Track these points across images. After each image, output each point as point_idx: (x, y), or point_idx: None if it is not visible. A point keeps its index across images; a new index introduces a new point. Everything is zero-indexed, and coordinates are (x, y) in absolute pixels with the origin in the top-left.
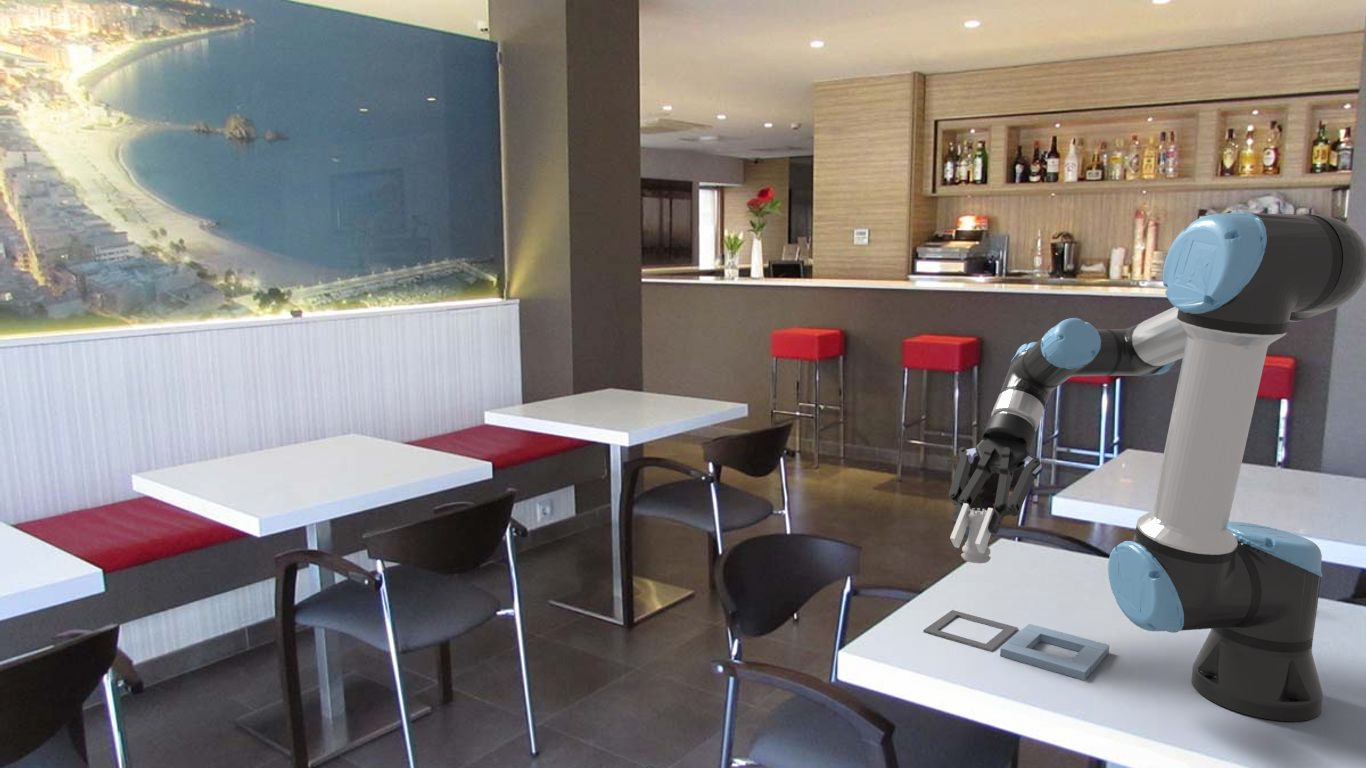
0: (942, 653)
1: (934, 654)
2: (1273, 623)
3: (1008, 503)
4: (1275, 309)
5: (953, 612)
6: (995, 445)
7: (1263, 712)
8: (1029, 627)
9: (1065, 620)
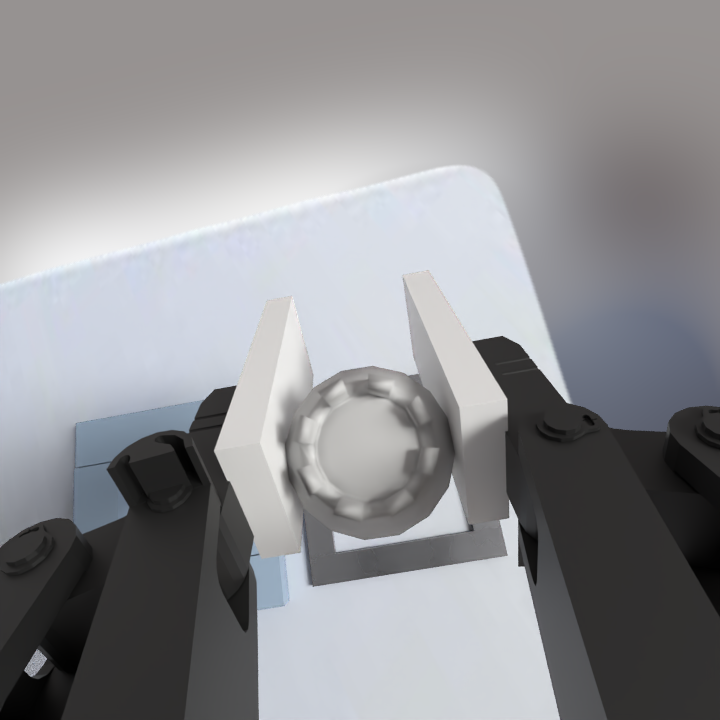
0: (360, 305)
1: (368, 287)
2: None
3: (56, 558)
4: None
5: (492, 538)
6: None
7: None
8: (271, 578)
9: None
